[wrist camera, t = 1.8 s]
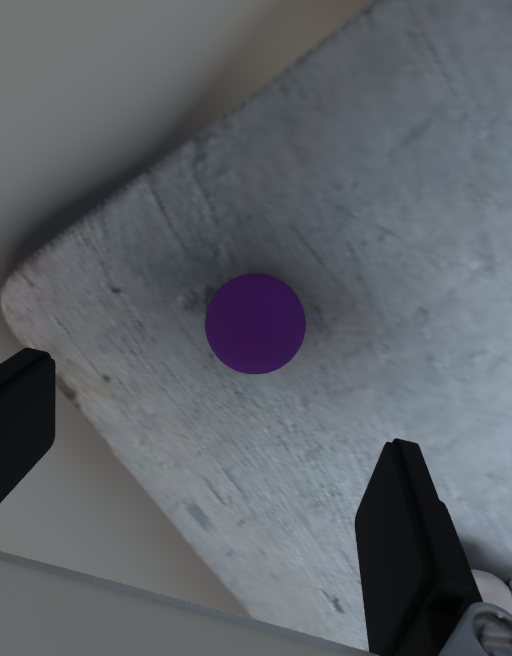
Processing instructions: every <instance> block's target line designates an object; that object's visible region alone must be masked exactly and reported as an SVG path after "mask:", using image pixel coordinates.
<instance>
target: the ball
mask: <svg viewBox="0 0 512 656" xmlns="http://www.w3.org/2000/svg"><path fill="white" fill-rule="evenodd" d="M305 326H306V322H305V314H304V310H303V307H302V304H301V302H300V300H299V299H298V297H297V295H296V294H295V293H294V291H293V290H292V289H291V288H290V287H289V286H287V285H286V284H285V283H283V282H282V281H280V280H278V279H276V278H274V277H271V276H268V275H263V274H247V275H243V276H240V277H237V278H234V279H232V280H230V281H229V282H227V283H226V284H224V285H223V286H222V287H221V288H220V289H219V290H218V291H217V292H216V294H215V295H214V296H213V298H212V300H211V302H210V304H209V306H208V309H207V313H206V319H205V330H206V336H207V339H208V342H209V345H210V347H211V349H212V350H213V352H214V353H215V355H216V356H217V357H218V358H219V359H220V360H221V361H222V362H223V363H224V364H225V365H227V366H228V367H230V368H232V369H234V370H236V371H239V372H242V373H246V374H264V373H268V372H272V371H275V370H277V369H279V368H281V367H282V366H284V365H285V364H286V363H288V362H289V361H290V360H291V359H292V358H293V357H294V356H295V354H296V353H297V351H298V350H299V348H300V346H301V344H302V341H303V338H304V334H305Z"/></svg>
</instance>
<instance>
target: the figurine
mask: <svg viewBox="0 0 512 656" xmlns="http://www.w3.org/2000/svg"><path fill="white" fill-rule="evenodd" d="M471 571H472V574H473V576H474V579H475V581H476V584H477V586H478V589H479V592H480V594H481V597H482V599H483V602H485V603H491V604H494V605H496V606H498V607H501V608H503V609H505V610H506V611H508V612H509V613H511V614H512V581H511V579H510V582H509V586H510V589H511V590H510V589H509V587H508V586H507V585H506V584H504V583H503V581H502V580H500V579H499V578H498V577H496V576H494V575H493V574H491V573H487V572H484V571H480V570H473V569H472V570H471Z"/></svg>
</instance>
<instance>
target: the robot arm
mask: <svg viewBox="0 0 512 656" xmlns="http://www.w3.org/2000/svg"><path fill="white" fill-rule="evenodd" d="M54 439H55V361H54V359H51V356H50V354H49V353H48V352H44V351H40V350H36V349H32V348H24V349H23V350H21V351H19V352H18V353H16V354H15V355H13V356H12V357H10V358H9V359H7V360H6V361H4V362H3V363H1V364H0V503H1V502H2V501H3V499H4V498H5V497H6V496H7V495H8V494H9V493H10V492H11V491H12V490H13V488H14V487H15V486H16V485H17V484H18V483H19V482H20V481H21V480H22V479H23V478H24V476H25V475H26V474H27V473H28V472H29V471H30V470H31V469H32V468H33V467H34V466H35V464H36V463H37V462H38V461H39V460H40V459H41V458H42V457H43V456H44V455H45V453H46V452H47V451H48V450H49V449H50V448H51V446H52V444H53V442H54ZM355 533H356V542H357V550H358V559H359V567H360V576H361V585H362V593H363V602H364V610H365V619H366V627H367V636H368V645H369V652H367V651H363V650H360V649H357V648H353V647H350V646H346V645H343V644H340V643H336V642H333V641H329V640H326V639H323V638H319V637H316V636H312V635H309V634H306V633H302V632H298V631H295V630H291V629H288V628H284V627H280V626H277V625H273V624H269V623H266V622H262V621H258V620H255V619H251V618H247V617H244V616H240V615H236V614H233V613H229V612H226V611H222V610H218V609H214V608H211V607H207V606H204V605H200V604H196V603H192V602H189V601H185V600H182V599H177V598H174V597H170V596H167V595H163V594H159V593H155V592H152V591H148V590H144V589H141V588H137V587H133V586H129V585H126V584H122V583H118V582H114V581H111V580H107V579H103V578H99V577H95V576H92V575H88V574H84V573H81V572H77V571H73V570H69V569H66V568H62V567H58V566H54V565H50V564H46V563H43V562H39V561H35V560H31V559H27V558H23V557H20V556H16V555H12V554H8V553H5V552H1V551H0V656H512V614H511V613H509V612H508V611H506V610H505V609H503V608H501V607H498V606H496V605H494V604H491V603H485V602H483V599H482V597H481V594H480V592H479V589H478V586H477V584H476V581H475V579H474V576H473V574H472V571H471V568H470V566H469V563H468V561H467V558H466V556H465V553H464V550H463V548H462V545H461V543H460V540H459V538H458V535H457V532H456V530H455V527H454V525H453V522H452V520H451V517H450V514H449V512H448V509H447V507H446V506H445V504H444V503H443V502H442V501H440V500H439V498H438V495H437V492H436V490H435V487H434V484H433V482H432V479H431V476H430V474H429V471H428V468H427V466H426V463H425V460H424V458H423V455H422V452H421V450H420V447H419V445H418V444H417V443H414V442H410V441H406V440H402V439H397V438H396V439H394V440H393V442H392V443H391V442H386V443H385V445H384V447H383V450H382V452H381V455H380V457H379V460H378V462H377V464H376V467H375V469H374V472H373V474H372V476H371V479H370V481H369V484H368V486H367V489H366V491H365V493H364V496H363V498H362V501H361V503H360V506H359V508H358V510H357V513H356V517H355Z"/></svg>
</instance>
